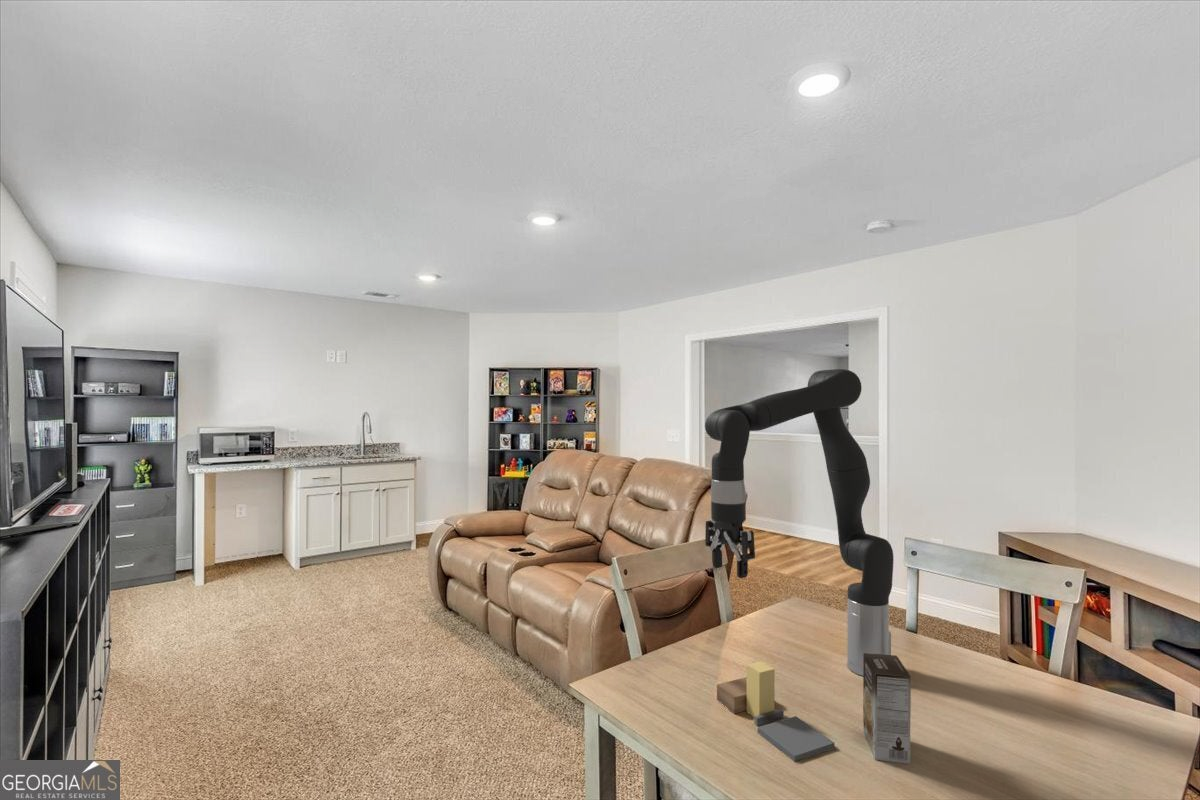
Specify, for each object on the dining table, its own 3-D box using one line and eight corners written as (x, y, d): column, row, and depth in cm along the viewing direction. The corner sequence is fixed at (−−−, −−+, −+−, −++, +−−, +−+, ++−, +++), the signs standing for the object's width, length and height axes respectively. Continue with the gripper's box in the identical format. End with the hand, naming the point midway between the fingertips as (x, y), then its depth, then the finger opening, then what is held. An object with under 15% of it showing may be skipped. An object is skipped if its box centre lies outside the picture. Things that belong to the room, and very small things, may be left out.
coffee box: (861, 732, 112) (861, 651, 112) (896, 736, 111) (896, 654, 111) (874, 760, 103) (874, 672, 103) (912, 765, 102) (912, 676, 102)
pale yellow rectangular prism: (761, 707, 121) (761, 661, 121) (774, 717, 117) (774, 668, 117) (746, 711, 119) (746, 664, 119) (759, 721, 116) (759, 672, 116)
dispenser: (752, 691, 128) (752, 675, 128) (789, 716, 118) (789, 699, 118) (716, 700, 124) (716, 684, 124) (751, 727, 113) (751, 710, 113)
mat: (795, 720, 116) (795, 716, 116) (834, 747, 107) (834, 742, 107) (757, 732, 112) (757, 727, 112) (794, 761, 103) (794, 756, 103)
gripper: (763, 502, 120) (764, 578, 120) (721, 493, 133) (722, 561, 133) (735, 506, 117) (737, 584, 117) (695, 496, 130) (696, 566, 130)
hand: (729, 572), depth 125 cm, fingers open, 8 cm apart
